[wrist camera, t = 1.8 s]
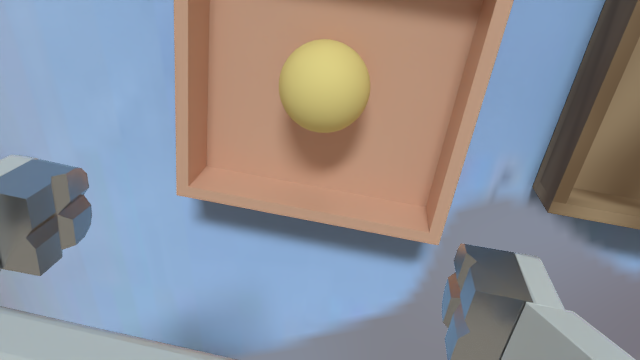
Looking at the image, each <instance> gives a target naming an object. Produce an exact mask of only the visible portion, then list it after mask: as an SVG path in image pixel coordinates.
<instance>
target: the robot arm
mask: <svg viewBox="0 0 640 360" xmlns="http://www.w3.org/2000/svg"><path fill="white" fill-rule="evenodd" d="M88 188H89V184H88V178H87V173H86V172H85V171H84V170H83V169H82V168H78V167H73V166H69V165H64V164H59V163H55V162H50V161H46V160H41V159H37V158H32V157H27V156H21V155H10V156H8V157H6V158H4V159H2V160H0V271H1V269H5V270H11V271H16V272H21V273H27V274H32V275H37V276H41V275H42V274H43V273H45V272H46V271H47V270H48V269H49V268H50V267H51V266H53V265H54V264H55V263H56V262H57V261H58V260H59V259H61V258H62V250H63V249H65V248H68V247H71V246H74V245H76V244H77V243H79V242H80V241H81V240H82V239H83V238H84V237H85V235H86V233H87V231H88V229H89V227H90V225H91V218H92V210H91V204H90V203H89V202H88V200H87V199H86V198H85V196H84V194H85V192H86V191H87V189H88ZM454 265H455V271H456V272H455V273H454V274H452V275H451V276H450V277H448V279H447V283H446V286H445V290H444V295H443V301H442V318H443V323H444V324H445V325H446V326H447V327H448V331H447V334H446V337H445V343H446V351H447V359H448V360H635V359H634V358H633V357H631V356H630V355H629V354H628V353H626V352H625V351H624V350H623V349H621V348H620V347H618V346H617V345H616V344H615V343H613V342H612V341H611V340H610V339H608V338H607V337H606V336H604V335H603V334H602V333H600V332H599V331H598V330H597V329H595V328H594V327H593V326H591V325H590V324H589V323H587V322H586V321H585V320H584V319H582V318H581V317H580V316H578V315H577V314H576V313H574V312H573V311H569V310H565V309H564V307H563V305H562V303H561V301H560V299H559V296H558V294H557V292H556V290H555V288H554V286H553V284H552V282H551V280H550V278H549V276H548V274H547V272H546V270H545V267H544V266H543V264H542V261H541V259H540V258H538V257H537V256H533V255H526V254H520V253H514V252H508V251H502V250H496V249H491V248H485V247H479V246H473V245H467V244H460V246H459V248H458V250H457V252H456V255H455V258H454ZM0 360H237V359H232V358H228V357H223V356H219V355H214V354H210V353H206V352H201V351H197V350H192V349H188V348H183V347H179V346H174V345H170V344H166V343H161V342H157V341H152V340H148V339H143V338H139V337H135V336H130V335H126V334H121V333H117V332H113V331H108V330H104V329H99V328H95V327H90V326H86V325H82V324H77V323H73V322H68V321H64V320H59V319H55V318H51V317H46V316H42V315H37V314H33V313H28V312H24V311H20V310H15V309H11V308H6V307H2V306H0Z"/></svg>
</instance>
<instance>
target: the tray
mask: <svg viewBox="0 0 640 360" xmlns="http://www.w3.org/2000/svg"><path fill="white" fill-rule="evenodd" d="M533 189H534V190H535V192H536V194H537V196H538V197H539V199H540V201H541V202H542V204H543V206H544V207H545V209H546V211H547V212H548V213H553V214H558V215H563V216H569V217H574V218H580V219H585V220H591V221H596V222H602V223H607V224H612V225H618V226H623V227H629V228H634V229H640V0H606V1H605V4H604V7H603V9H602V12H601V14H600V17H599V19H598V22H597V24H596V27H595V29H594V32H593V34H592V37H591V40H590V42H589V45H588V47H587V50H586V52H585V55H584V57H583V60H582V62H581V65H580V67H579V70H578V73H577V75H576V78H575V80H574V83H573V85H572V88H571V90H570V93H569V95H568V98H567V100H566V103H565V106H564V108H563V111H562V113H561V116H560V118H559V121H558V123H557V126H556V128H555V131H554V133H553V136H552V139H551V141H550V144H549V146H548V149H547V151H546V154H545V156H544V159H543V161H542V164H541V166H540V169H539V171H538V174H537V177H536V179H535V182H534V184H533Z"/></svg>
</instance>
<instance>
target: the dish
mask: <svg viewBox="0 0 640 360" xmlns="http://www.w3.org/2000/svg"><path fill="white" fill-rule="evenodd" d="M513 1H514V0H174V42H175V112H176V181H177V195H179V196H184V197H189V198H195V199H200V200H205V201H210V202H215V203H221V204H226V205H231V206H236V207H241V208H247V209H252V210H257V211H262V212H268V213H273V214H278V215H283V216H288V217H294V218H299V219H304V220H309V221H314V222H320V223H325V224H330V225H335V226H340V227H346V228H351V229H356V230H361V231H367V232H372V233H377V234H382V235H387V236H393V237H398V238H403V239H408V240H413V241H419V242H424V243H429V244H434V245H439V242H440V239H441V236H442V232H443V229H444V226H445V223H446V219H447V216H448V213H449V210H450V206H451V203H452V200H453V197H454V193H455V190H456V187H457V183H458V180H459V177H460V174H461V170H462V167H463V164H464V161H465V157H466V154H467V151H468V148H469V144H470V141H471V138H472V135H473V131H474V128H475V125H476V122H477V118H478V115H479V112H480V109H481V105H482V102H483V99H484V95H485V92H486V89H487V86H488V82H489V79H490V76H491V73H492V69H493V66H494V63H495V60H496V56H497V53H498V50H499V47H500V43H501V40H502V37H503V34H504V30H505V27H506V24H507V21H508V17H509V14H510V11H511V8H512V4H513ZM319 39H330V40H335V41H339V42H341V43H344V44H346V45H348V46H349V47H351V48H352V49H353V50H354V51H356V52H357V53H358V54H359V56H360V57H361V58H362V60H363V61H364V63H365V65H366V67H367V69H368V73H369V77H370V95H369V99H368V102H367V105H366V107H365V109H364V111H363V112H362V114H361V115H360V116H359V117H358V118H357V119H356V120H355V121H354V122H353V123H352V124H351V125H349V126H348V127H346V128H344V129H341V130H339V131H335V132H329V133H319V132H313V131H310V130H307V129H305V128H303V127H301V126H300V125H298V124H297V123H296V122H295V121H293V120H292V119H291V117H290V116H289V115H288V114H287V112H286V111H285V109H284V107H283V105H282V102H281V100H280V95H279V77H280V73H281V70H282V67H283V65H284V63H285V62H286V60H287V58H288V57H289V56H290V55H291V53H292V52H294V51H295V50H296V49H297V48H299V47H300V46H302V45H303V44H305V43H308V42H310V41H313V40H319Z"/></svg>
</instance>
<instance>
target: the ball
mask: <svg viewBox="0 0 640 360" xmlns="http://www.w3.org/2000/svg"><path fill="white" fill-rule="evenodd" d="M279 95H280V100H281V102H282V105H283V107H284V109H285V111H286V112H287V114H288V115H289V116H290V117H291V119H292V120H293V121H295V122H296V123H297V124H298V125H300V126H301V127H303V128H305V129H307V130H310V131H313V132H319V133H329V132H335V131H339V130H341V129H344V128H346V127H348V126H349V125H351V124H352V123H353V122H354V121H355V120H356V119H357V118H358V117H359V116H360V115H361V114H362V112H363V111H364V109H365V107H366V105H367V102H368V99H369V95H370V77H369V73H368V69H367V67H366V65H365V63H364V61H363V60H362V58H361V57H360V56H359V54H358V53H357V52H356V51H354V50H353V49H352V48H351V47H349V46H348V45H346V44H344V43H341V42H339V41H335V40H330V39H319V40H313V41H310V42H308V43H305V44H303V45H302V46H300V47H299V48H297V49H296V50H295V51H294V52H292V53H291V55H290V56H289V57H288V58H287V60H286V62H285V63H284V65H283V67H282V70H281V73H280V77H279Z"/></svg>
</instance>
